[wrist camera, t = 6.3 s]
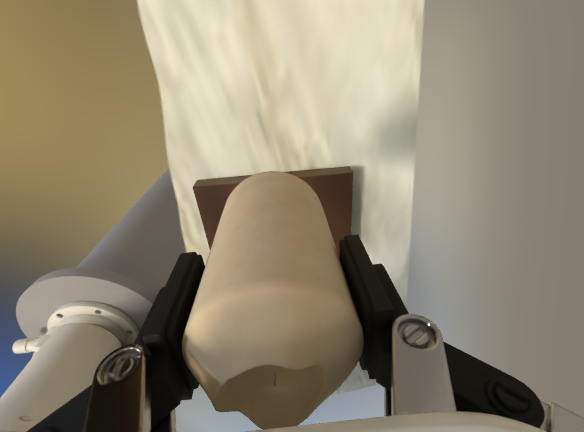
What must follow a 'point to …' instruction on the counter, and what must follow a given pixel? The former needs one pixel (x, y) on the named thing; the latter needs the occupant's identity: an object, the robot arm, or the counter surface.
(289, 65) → the counter surface
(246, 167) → the counter surface
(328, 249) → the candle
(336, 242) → the walnut board
